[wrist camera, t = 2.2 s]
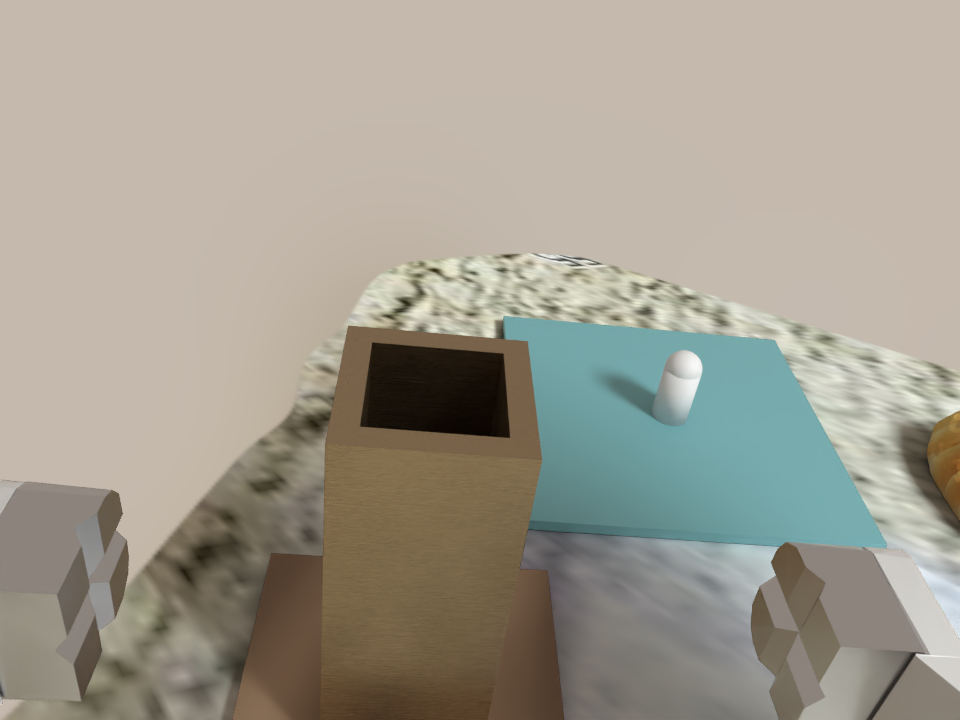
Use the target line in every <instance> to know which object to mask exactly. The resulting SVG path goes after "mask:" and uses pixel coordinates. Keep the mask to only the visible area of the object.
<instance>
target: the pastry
mask: <svg viewBox="0 0 960 720" xmlns="http://www.w3.org/2000/svg"><path fill="white" fill-rule="evenodd" d="M927 459H928V462H929V467H930V473H931V475H932V477H933V479H934V481H935V482H936V485H937V487H938V488H939V489H940V491H941V493H942V496H943V497H944V499H945V500H946V501H947V503H948V504H949V506H950V507H951V509H952V511H953V512H954V514H955V515H956V517H957V518H958V520H959V521H960V411H958V412H956V413H954V414H952V415H950V416H948V417H946V418H944V419H943V420H941V421H939V422H938V423H937V424H936V425H935V426H934V428H933V431H932V434H931V438H930V442H929V444H928V446H927Z"/></svg>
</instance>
